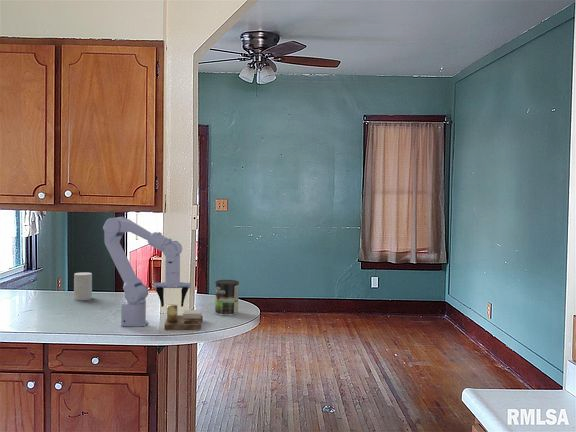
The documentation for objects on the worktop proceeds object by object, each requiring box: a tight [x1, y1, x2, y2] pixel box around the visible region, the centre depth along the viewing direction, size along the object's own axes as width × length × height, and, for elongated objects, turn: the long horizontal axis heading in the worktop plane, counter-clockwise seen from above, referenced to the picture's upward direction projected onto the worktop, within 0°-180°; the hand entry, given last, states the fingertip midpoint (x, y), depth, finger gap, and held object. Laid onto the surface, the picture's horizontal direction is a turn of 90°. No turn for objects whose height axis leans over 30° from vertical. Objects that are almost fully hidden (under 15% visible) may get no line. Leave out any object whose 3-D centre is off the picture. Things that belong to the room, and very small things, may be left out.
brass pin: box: [166, 304, 178, 323], centre depth 244 cm, size 4×4×6 cm
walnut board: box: [163, 314, 203, 331], centre depth 248 cm, size 14×16×2 cm
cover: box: [182, 309, 202, 319], centre depth 253 cm, size 7×7×2 cm
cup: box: [73, 272, 93, 301], centre depth 295 cm, size 8×8×12 cm
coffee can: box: [214, 279, 240, 317], centre depth 270 cm, size 10×10×14 cm
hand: (172, 306), depth 244 cm, fingers open, 7 cm apart
